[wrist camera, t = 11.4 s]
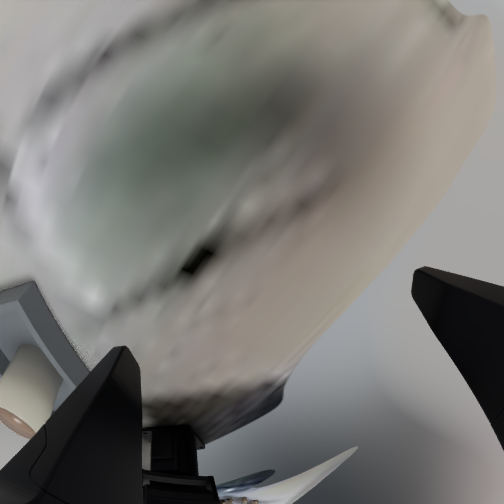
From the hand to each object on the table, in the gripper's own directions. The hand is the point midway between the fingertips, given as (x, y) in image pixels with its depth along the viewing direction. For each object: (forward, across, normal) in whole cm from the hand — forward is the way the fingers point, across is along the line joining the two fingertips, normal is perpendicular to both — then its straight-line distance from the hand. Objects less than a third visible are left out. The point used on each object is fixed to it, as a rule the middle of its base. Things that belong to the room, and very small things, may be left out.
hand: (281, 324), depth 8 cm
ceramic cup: (+11, +24, +10) cm, 28 cm away
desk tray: (+12, +24, +10) cm, 28 cm away
